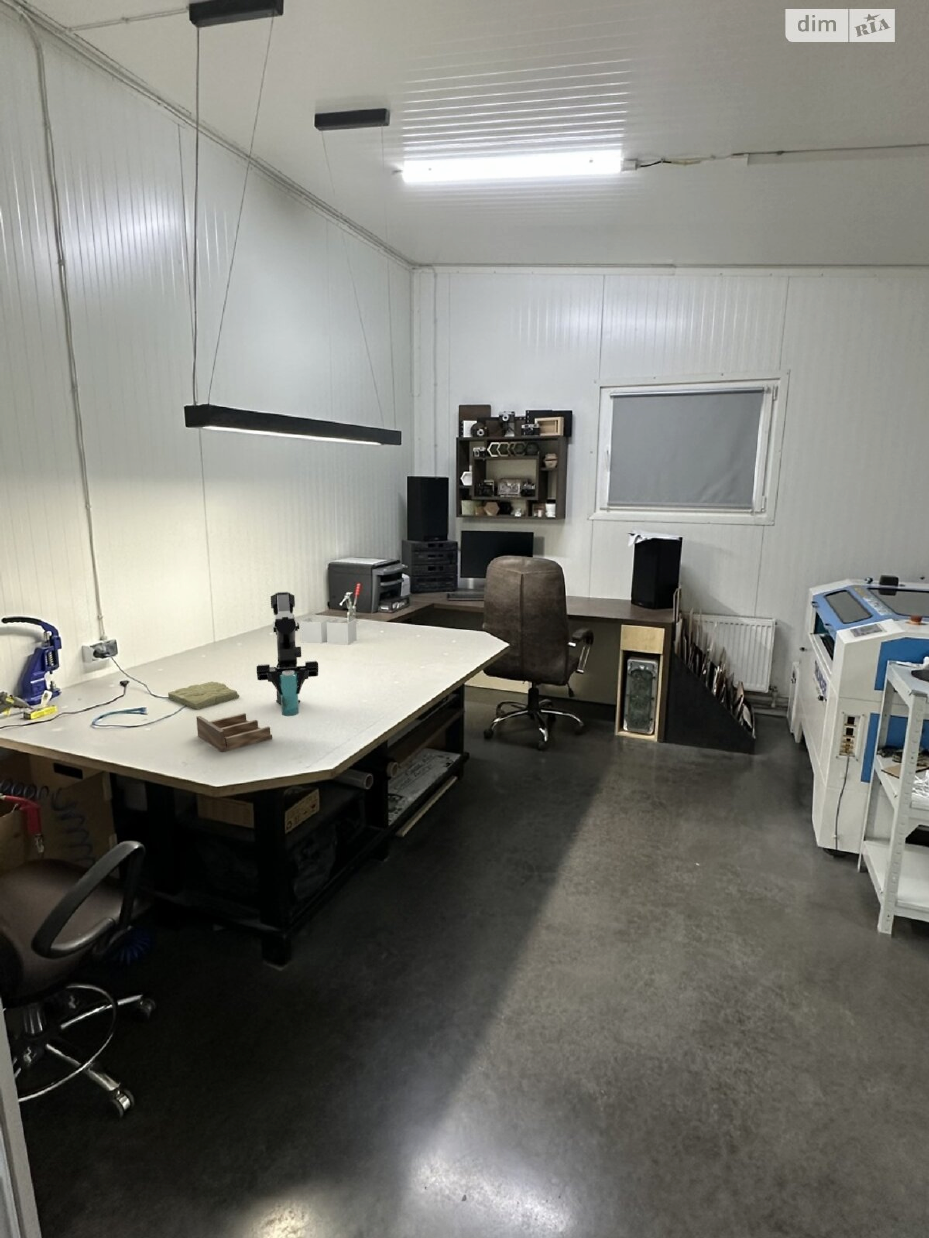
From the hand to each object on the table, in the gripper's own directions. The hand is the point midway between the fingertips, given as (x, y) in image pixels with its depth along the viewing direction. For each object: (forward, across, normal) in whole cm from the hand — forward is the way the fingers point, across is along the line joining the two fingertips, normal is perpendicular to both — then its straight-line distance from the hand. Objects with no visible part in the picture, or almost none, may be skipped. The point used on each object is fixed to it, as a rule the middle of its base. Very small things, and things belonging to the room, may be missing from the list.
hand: (289, 694), depth 208 cm
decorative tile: (-24, -29, +44) cm, 58 cm away
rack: (+7, -17, +12) cm, 22 cm away
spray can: (+4, 0, +6) cm, 7 cm away
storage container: (-80, +22, +101) cm, 131 cm away
